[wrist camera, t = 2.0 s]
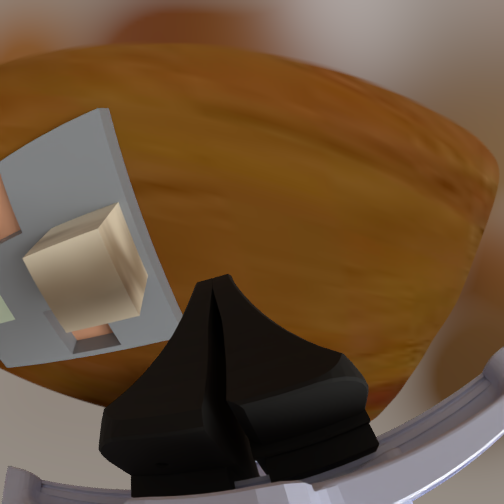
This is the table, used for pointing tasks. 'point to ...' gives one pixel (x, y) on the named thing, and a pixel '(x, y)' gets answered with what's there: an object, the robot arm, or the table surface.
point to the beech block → (89, 270)
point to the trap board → (58, 212)
